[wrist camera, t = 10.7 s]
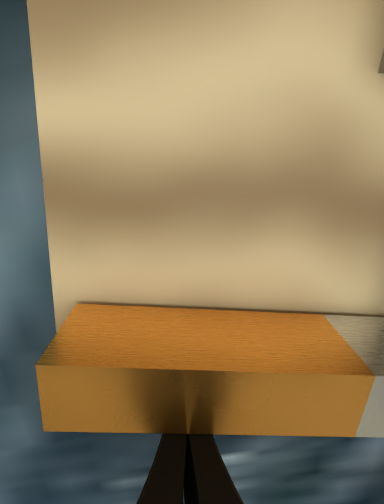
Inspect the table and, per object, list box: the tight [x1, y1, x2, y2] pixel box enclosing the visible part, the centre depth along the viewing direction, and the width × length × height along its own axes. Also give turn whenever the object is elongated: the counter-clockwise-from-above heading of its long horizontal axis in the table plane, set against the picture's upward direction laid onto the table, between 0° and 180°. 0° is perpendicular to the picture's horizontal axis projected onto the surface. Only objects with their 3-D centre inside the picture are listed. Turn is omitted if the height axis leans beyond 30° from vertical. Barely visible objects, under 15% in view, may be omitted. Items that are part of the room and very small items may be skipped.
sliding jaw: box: [36, 304, 384, 437], centre depth 11 cm, size 2×20×4 cm, turn 86°
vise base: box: [27, 0, 384, 334], centre depth 10 cm, size 20×23×5 cm
